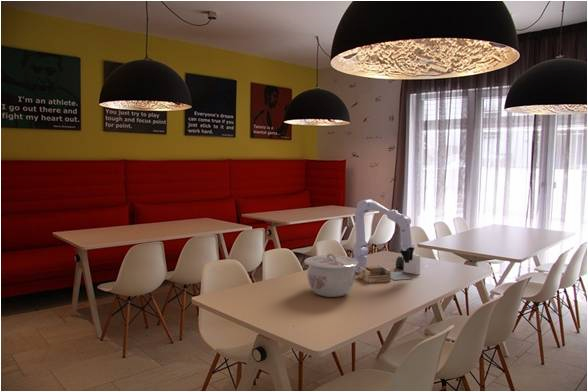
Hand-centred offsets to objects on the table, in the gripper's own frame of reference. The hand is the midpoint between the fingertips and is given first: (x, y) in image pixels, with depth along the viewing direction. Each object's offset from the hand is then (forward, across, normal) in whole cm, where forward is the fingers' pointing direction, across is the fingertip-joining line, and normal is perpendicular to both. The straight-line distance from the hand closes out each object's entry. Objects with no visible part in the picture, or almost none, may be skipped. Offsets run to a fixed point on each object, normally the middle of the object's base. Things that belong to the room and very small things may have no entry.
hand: (408, 261), depth 261 cm
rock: (+9, +30, +9) cm, 33 cm away
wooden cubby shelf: (+8, -8, +19) cm, 22 cm away
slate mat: (+9, +3, +9) cm, 13 cm away
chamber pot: (+8, -45, +30) cm, 54 cm away
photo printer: (+10, +16, +3) cm, 19 cm away
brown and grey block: (+8, -8, +19) cm, 22 cm away
